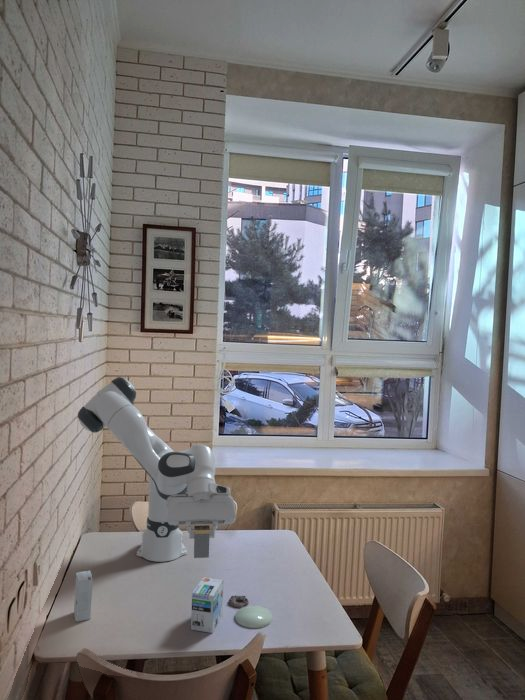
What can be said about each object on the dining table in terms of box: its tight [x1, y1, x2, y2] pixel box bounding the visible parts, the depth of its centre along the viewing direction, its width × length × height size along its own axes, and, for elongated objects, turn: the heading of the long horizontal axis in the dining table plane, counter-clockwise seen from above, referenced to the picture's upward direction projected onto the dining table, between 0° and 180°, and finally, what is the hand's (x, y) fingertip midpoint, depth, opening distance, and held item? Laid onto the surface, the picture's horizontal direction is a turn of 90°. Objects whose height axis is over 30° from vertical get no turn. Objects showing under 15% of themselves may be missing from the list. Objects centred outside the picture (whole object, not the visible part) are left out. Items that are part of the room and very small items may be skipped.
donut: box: [228, 595, 249, 609], centre depth 167 cm, size 8×8×2 cm
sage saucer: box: [235, 605, 273, 629], centre depth 158 cm, size 11×11×1 cm
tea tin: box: [193, 524, 211, 559], centre depth 154 cm, size 4×4×8 cm
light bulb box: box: [190, 576, 224, 634], centre depth 155 cm, size 11×7×11 cm, turn 168°
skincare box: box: [73, 570, 94, 622], centre depth 156 cm, size 6×4×12 cm
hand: (201, 537), depth 153 cm, fingers closed on tea tin, 4 cm apart
